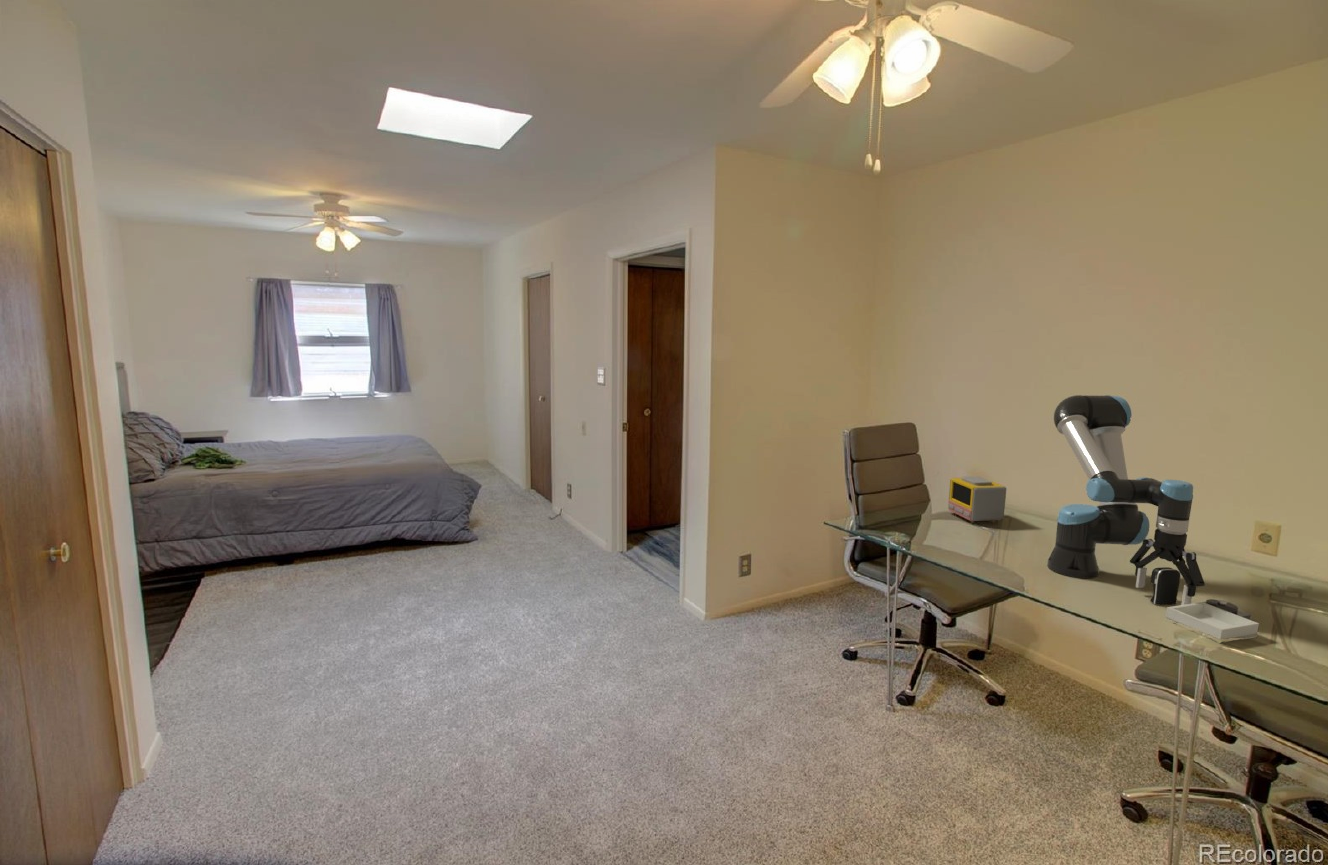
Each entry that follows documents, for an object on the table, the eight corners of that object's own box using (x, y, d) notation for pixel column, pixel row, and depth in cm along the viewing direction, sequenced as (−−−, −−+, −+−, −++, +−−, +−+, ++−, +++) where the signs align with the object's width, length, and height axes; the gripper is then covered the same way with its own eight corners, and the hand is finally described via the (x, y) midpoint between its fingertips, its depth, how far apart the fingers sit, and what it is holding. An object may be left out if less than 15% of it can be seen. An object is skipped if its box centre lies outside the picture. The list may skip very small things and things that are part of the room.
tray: (1165, 620, 175) (1166, 607, 174) (1200, 614, 178) (1202, 601, 178) (1219, 643, 162) (1221, 629, 161) (1256, 636, 165) (1258, 623, 164)
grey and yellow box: (945, 512, 282) (948, 474, 279) (976, 511, 284) (980, 473, 281) (971, 525, 263) (974, 485, 260) (1004, 524, 264) (1008, 484, 261)
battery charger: (1166, 599, 188) (1170, 565, 187) (1177, 605, 185) (1182, 570, 183) (1145, 600, 188) (1150, 566, 186) (1156, 605, 184) (1160, 570, 182)
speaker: (1191, 609, 182) (1193, 595, 181) (1211, 606, 184) (1213, 592, 183) (1229, 624, 172) (1232, 610, 171) (1249, 621, 174) (1252, 606, 173)
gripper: (1121, 519, 194) (1113, 581, 197) (1207, 545, 170) (1197, 615, 173) (1139, 517, 195) (1131, 579, 199) (1227, 543, 172) (1216, 612, 175)
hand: (1162, 596), depth 186 cm, fingers open, 13 cm apart
